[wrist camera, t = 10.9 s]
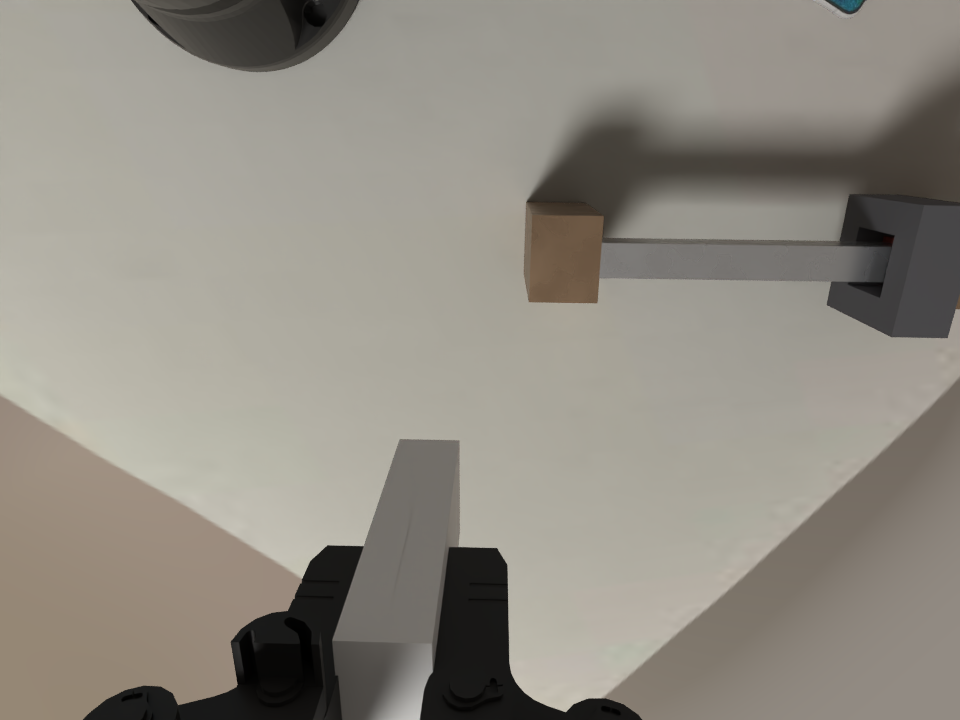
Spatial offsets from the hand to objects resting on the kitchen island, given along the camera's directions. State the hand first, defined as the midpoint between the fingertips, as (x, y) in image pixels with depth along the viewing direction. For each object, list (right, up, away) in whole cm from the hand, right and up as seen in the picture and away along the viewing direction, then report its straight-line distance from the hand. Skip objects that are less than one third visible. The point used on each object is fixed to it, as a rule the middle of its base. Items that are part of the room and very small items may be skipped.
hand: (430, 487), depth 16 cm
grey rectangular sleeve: (+26, +10, +23) cm, 36 cm away
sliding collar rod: (+18, +11, +27) cm, 34 cm away
